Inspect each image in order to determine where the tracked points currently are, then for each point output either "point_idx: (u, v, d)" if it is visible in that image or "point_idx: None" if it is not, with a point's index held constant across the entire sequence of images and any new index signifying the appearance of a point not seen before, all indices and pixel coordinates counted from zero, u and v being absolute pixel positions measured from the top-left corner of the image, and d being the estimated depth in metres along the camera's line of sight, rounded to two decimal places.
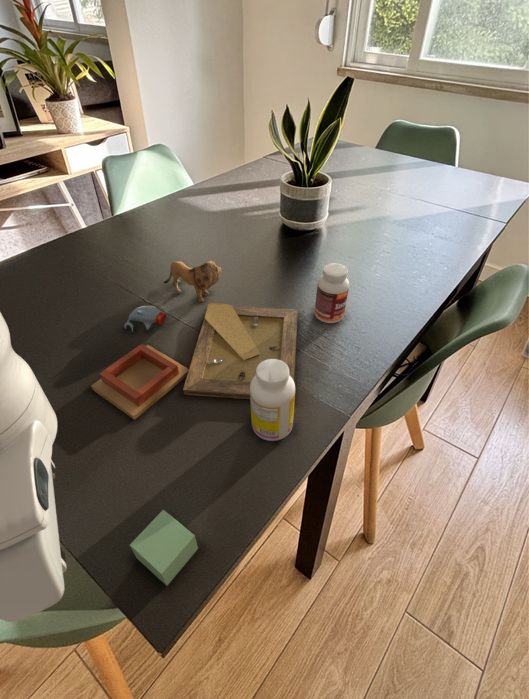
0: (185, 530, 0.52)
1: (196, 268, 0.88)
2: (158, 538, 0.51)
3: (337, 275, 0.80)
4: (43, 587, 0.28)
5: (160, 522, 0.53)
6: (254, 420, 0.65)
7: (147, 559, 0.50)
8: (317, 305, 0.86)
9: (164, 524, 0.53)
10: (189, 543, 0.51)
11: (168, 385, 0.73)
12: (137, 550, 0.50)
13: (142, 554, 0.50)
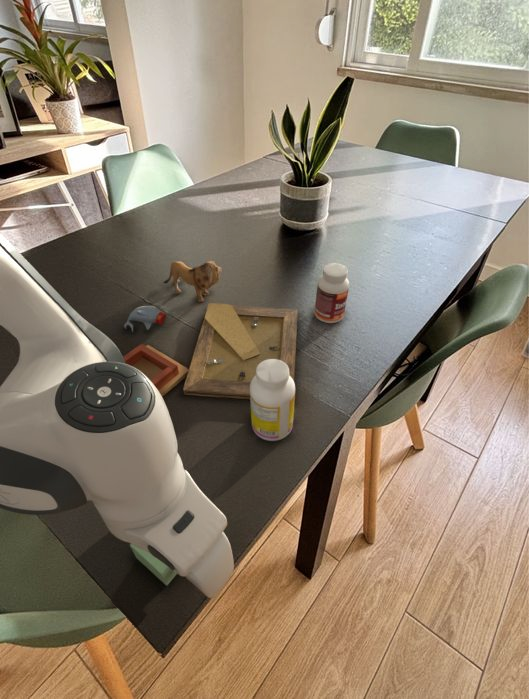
0: None
1: (196, 268, 0.88)
2: None
3: (337, 275, 0.80)
4: (229, 563, 0.44)
5: None
6: (254, 420, 0.65)
7: (147, 559, 0.50)
8: (317, 305, 0.86)
9: None
10: None
11: (168, 385, 0.73)
12: (137, 550, 0.50)
13: (142, 554, 0.50)
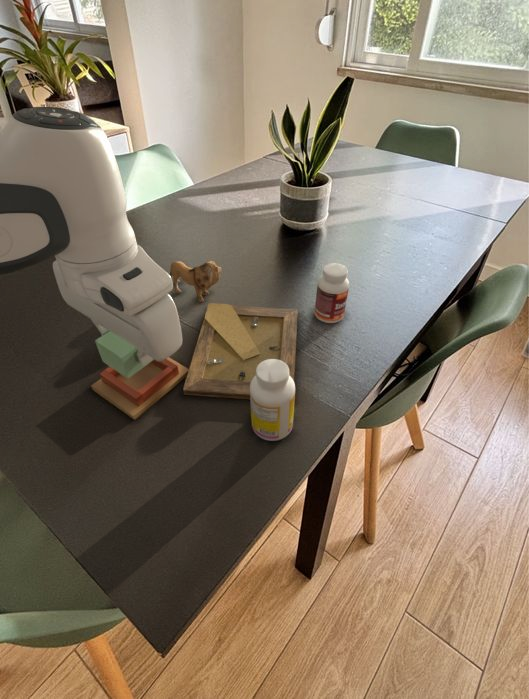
0: None
1: (196, 268, 0.88)
2: None
3: (337, 275, 0.80)
4: (176, 329, 0.50)
5: None
6: (254, 420, 0.65)
7: (109, 349, 0.56)
8: (317, 305, 0.86)
9: None
10: None
11: (168, 385, 0.73)
12: (101, 343, 0.56)
13: (105, 346, 0.56)
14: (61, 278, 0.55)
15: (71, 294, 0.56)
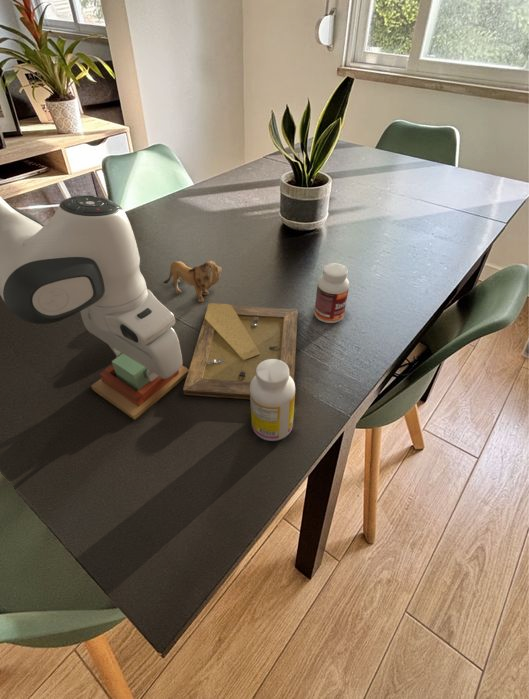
0: None
1: (196, 268, 0.88)
2: None
3: (337, 275, 0.80)
4: (178, 354, 0.64)
5: None
6: (254, 420, 0.65)
7: (124, 368, 0.70)
8: (317, 305, 0.86)
9: None
10: None
11: (168, 385, 0.73)
12: (117, 364, 0.71)
13: (120, 366, 0.70)
14: (85, 313, 0.69)
15: (93, 325, 0.70)
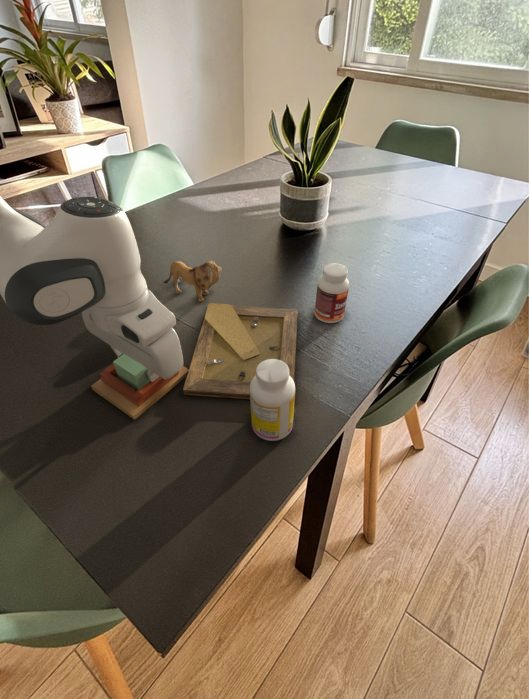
0: None
1: (196, 268, 0.88)
2: None
3: (337, 275, 0.80)
4: (179, 354, 0.64)
5: None
6: (254, 420, 0.65)
7: (125, 368, 0.70)
8: (317, 305, 0.86)
9: None
10: None
11: (168, 385, 0.73)
12: (118, 364, 0.71)
13: (121, 366, 0.70)
14: (86, 313, 0.69)
15: (94, 325, 0.70)
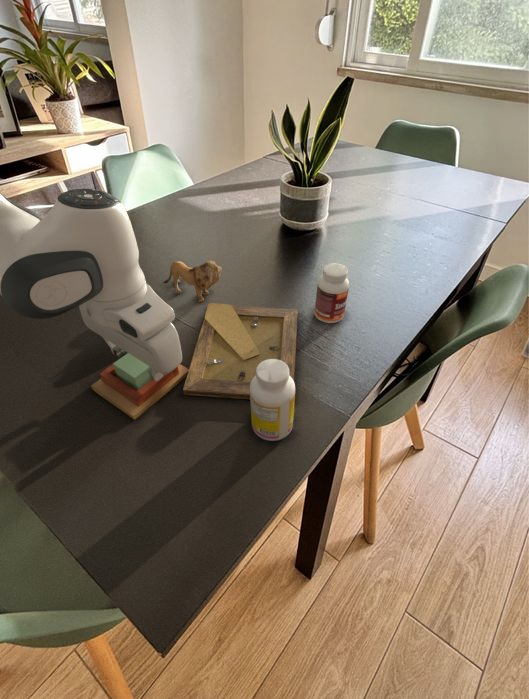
0: None
1: (196, 268, 0.88)
2: (133, 360, 0.72)
3: (337, 275, 0.80)
4: (177, 349, 0.63)
5: None
6: (254, 420, 0.65)
7: (125, 370, 0.70)
8: (317, 305, 0.86)
9: None
10: None
11: (168, 385, 0.73)
12: (118, 366, 0.71)
13: (121, 368, 0.71)
14: (84, 308, 0.68)
15: (92, 321, 0.69)
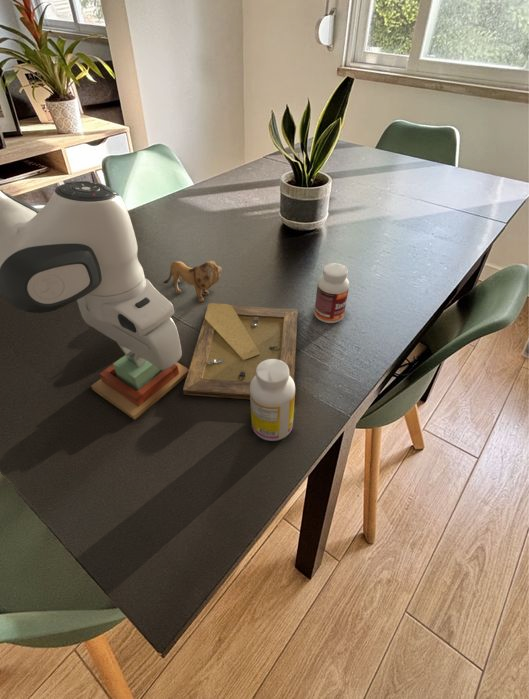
0: None
1: (196, 268, 0.88)
2: None
3: (337, 275, 0.80)
4: (177, 344, 0.63)
5: None
6: (254, 420, 0.65)
7: (125, 370, 0.70)
8: (317, 305, 0.86)
9: None
10: None
11: (168, 385, 0.73)
12: (118, 366, 0.71)
13: (121, 368, 0.71)
14: (83, 303, 0.67)
15: (90, 316, 0.68)
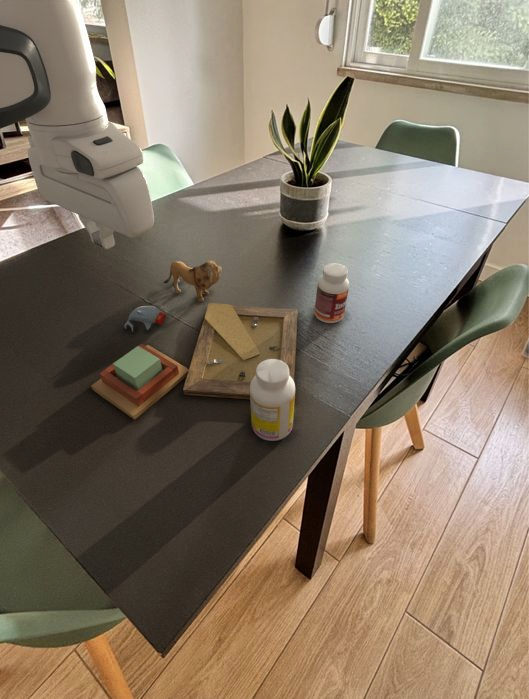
0: (153, 356, 0.73)
1: (196, 268, 0.88)
2: (133, 360, 0.72)
3: (337, 275, 0.80)
4: (147, 204, 0.51)
5: (135, 352, 0.73)
6: (254, 420, 0.65)
7: (125, 370, 0.70)
8: (317, 305, 0.86)
9: (138, 353, 0.73)
10: (155, 364, 0.72)
11: (168, 385, 0.73)
12: (118, 366, 0.71)
13: (121, 368, 0.71)
14: (37, 166, 0.56)
15: (47, 183, 0.57)
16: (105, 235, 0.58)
